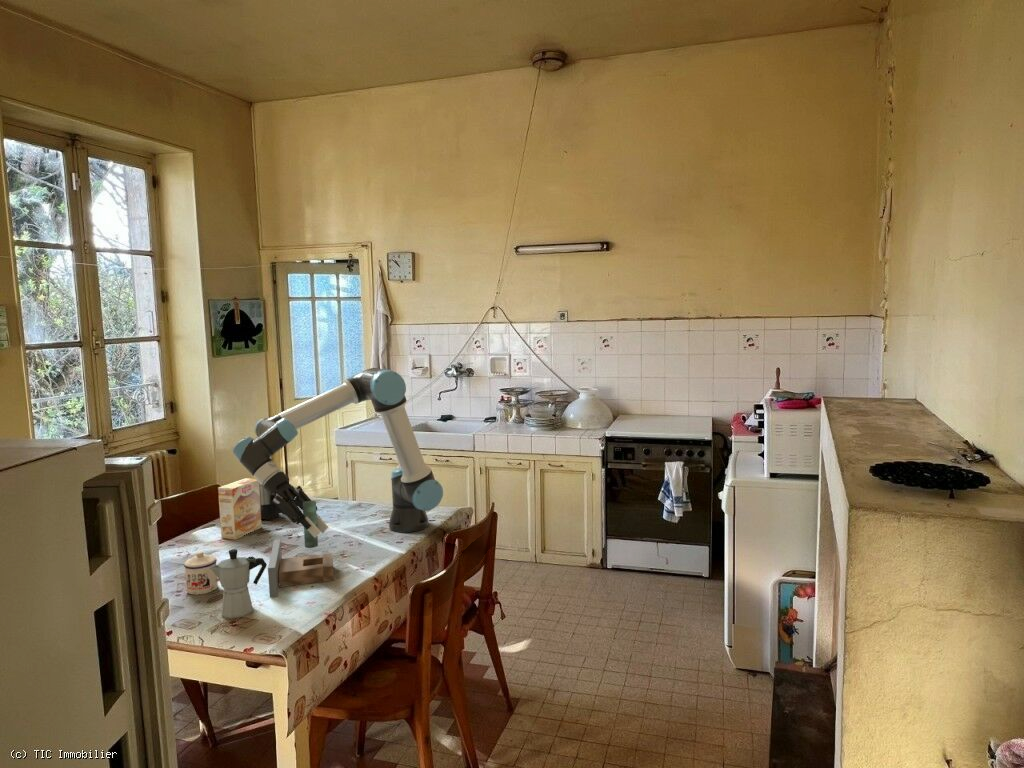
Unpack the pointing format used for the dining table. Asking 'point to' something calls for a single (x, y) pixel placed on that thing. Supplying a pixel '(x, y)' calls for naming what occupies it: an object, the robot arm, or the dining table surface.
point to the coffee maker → (237, 583)
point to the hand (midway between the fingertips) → (321, 532)
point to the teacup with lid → (200, 574)
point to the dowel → (310, 512)
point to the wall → (274, 568)
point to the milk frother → (267, 504)
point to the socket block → (306, 569)
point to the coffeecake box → (239, 508)
